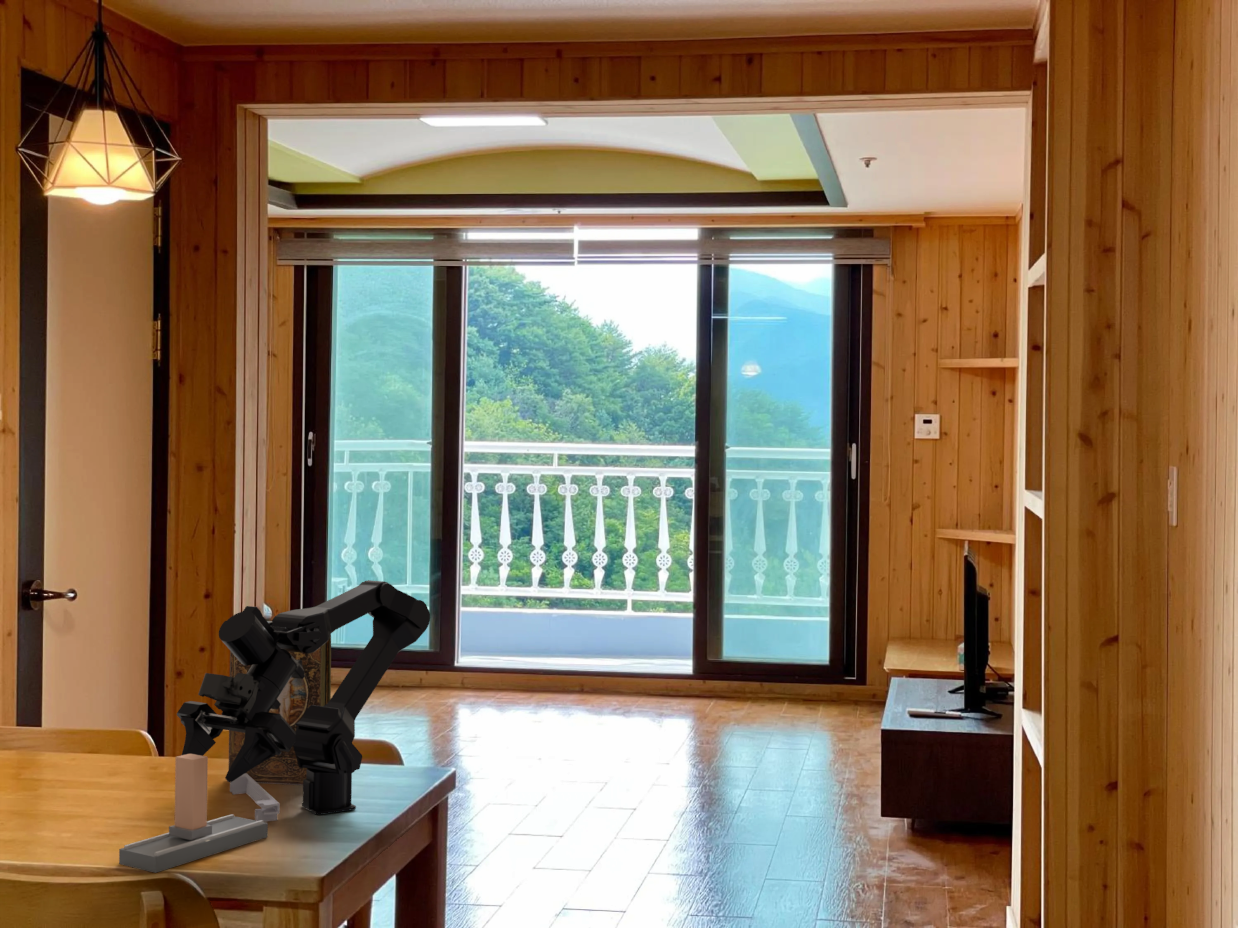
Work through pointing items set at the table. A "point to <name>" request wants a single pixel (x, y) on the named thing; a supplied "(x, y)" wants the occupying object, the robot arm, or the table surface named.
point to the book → (289, 713)
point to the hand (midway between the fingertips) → (203, 776)
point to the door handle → (257, 797)
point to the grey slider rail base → (191, 844)
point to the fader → (191, 797)
